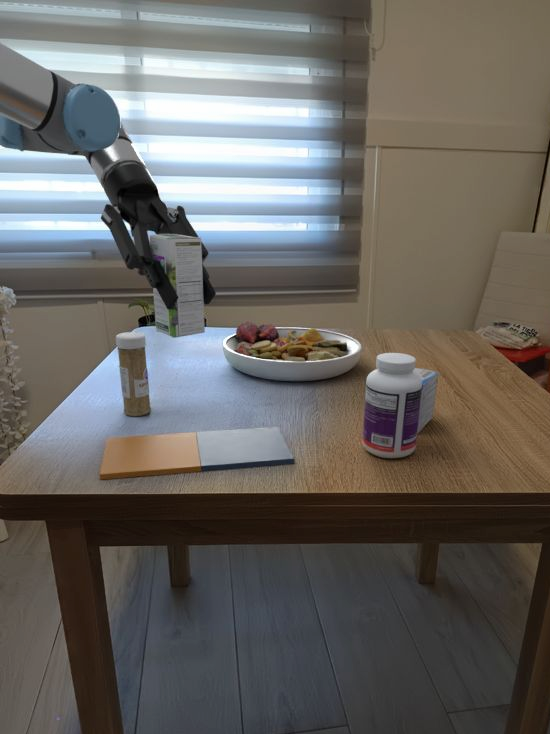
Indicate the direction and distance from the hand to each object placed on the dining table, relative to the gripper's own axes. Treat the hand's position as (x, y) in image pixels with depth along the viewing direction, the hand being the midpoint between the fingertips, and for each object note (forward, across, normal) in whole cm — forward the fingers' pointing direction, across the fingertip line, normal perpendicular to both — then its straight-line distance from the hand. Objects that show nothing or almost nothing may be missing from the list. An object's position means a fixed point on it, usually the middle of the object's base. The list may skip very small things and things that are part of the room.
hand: (192, 300), depth 86 cm
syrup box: (+1, 0, -6) cm, 7 cm away
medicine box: (+31, -27, +3) cm, 41 cm away
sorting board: (+20, +6, -8) cm, 23 cm away
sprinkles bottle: (+6, +4, -22) cm, 24 cm away
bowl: (+4, -36, -24) cm, 43 cm away
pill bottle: (+33, -15, +5) cm, 37 cm away
